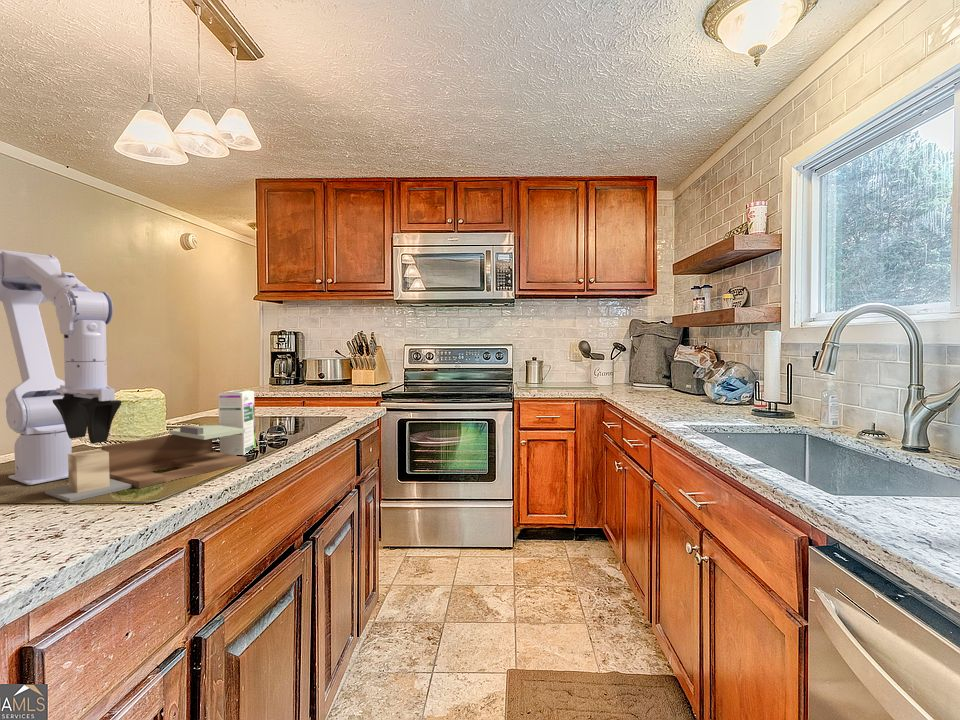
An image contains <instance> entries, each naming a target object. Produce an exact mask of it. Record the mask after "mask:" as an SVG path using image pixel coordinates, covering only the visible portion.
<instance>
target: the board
mask: <svg viewBox="0 0 960 720" xmlns="http://www.w3.org/2000/svg"><path fill="white" fill-rule="evenodd" d="M100 447H101V448H100V449H101V450H104V451H107V452H109V479H113V480H117V481H121V482H124V483H128V484H132V487H133V488H137V489H142V488H146V487H151V486H156V485H159V483H160V484H164V483H168V482H172V481H171V480H173V481H176V480H175V479H177V480H180V479H179V478H181V479H184V477H185V478H189V477H192V476H193V477H194V476H198V475H202V474H206V473H210V472H213V471H218V470H223V469H227V468H230V467H231V468H232V467H236V466H240V465H244V464H247V457H246V456H236V455H230V454H225V453H220V451H219V452H218V451H213V438H212V439H206V440H202V439H196V438H190V437H184V436H178V435H172V434H169V435H165V436H164V435H163V436H157V437H150V438H145V439H138V440H132V441H126V442H120V443H119V442H118V443H112V444H107V445H102V446H100ZM177 467H178V468H177ZM168 468H169V469H173V468H177V469H174V470H170V471H165V472H160V473H156V472H159V471H163V469H164V470H169V469H168ZM181 468H182V469H181ZM158 470H159V471H158ZM153 471H155V472H153ZM163 482H164V483H163ZM155 484H156V485H155Z"/></svg>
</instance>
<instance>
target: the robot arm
mask: <svg viewBox="0 0 960 720" xmlns="http://www.w3.org/2000/svg"><path fill="white" fill-rule="evenodd" d="M61 266H62V265H61V263H60V261H59V259H58V258H57V257H56V256H55V255H53V254H38V253H32V252H24V251H15V250H7V249H2V248H1V249H0V302H1V303H2V306H3V309H4V311H5V315H6V318H7V322H8V327H9V331H10V335H11V340H12V344H13V348H14V353H15V355H16V356H15V357H16V361H17V365H18V369H19V373H20V378H21V382H20V383H19V384H17V385H16V386H15V387H13V388H12V389H11V390H10V391H9V392H8V393H7V396H6V398H5V405H6V409H5V410H6V411H5V417H6V423H7V426H8V427H9V428H10V429H11V430H12V431H13V432H15V433H16V434H19V436H18V437H17V438H16V440H15V442H14V448H13V449H14V473H15V474H11V475H8V479H10V480H13V481H17V482H19V483H22V484H25V485H27V486H33V485H38V484H44V483H47V482H49V483H50V482H54V481H59V480H62V479H69V476H68V453H73V450H72V447H73V445H72V440H73V439H78V438H85V437H86V434H88V439H89V442H90V443H91V444H98V443H99V444H100V443H104V442H105V443H106V442H107V441H108V438H109V434H110V431H111V427H112V423H113V420H114V418H115V416H116V414H117V412H118V410H119V408H120V407H121V406H122V401H121V400H118V399H116V393H115V392H116V390H115V388H112V387H110V386H109V385H108V356H107V355H108V354H107V352H108V351H107V350H108V349H107V348H108V347H107V325H109V324H110V323H111V321H112V319H113V316H114V303H113V299H112V298H111V296H110V295H109V294H108V293H107V292H106V291H93V290H92V289H90V288H89V287H88V286H87V285H86V284H85V283H83V282H82V281H81V280H79V279H78V278H77V277H76V275H75V273H74V272H68V271H62V268H61ZM45 302H49V303H51V304H52V305H53V306H54V308H55V313H56V317H57V321H58V324H59V325H58V326H59V332H60V334H61V335H63V358H64V359H63V360H64V361H63V362H64V380H62V379H61V378H59V377H57V375H56V371H55V367H54V363H53V359H52V355H51V352H50V349H49V343H48V339H47V336H46V330H45V328H44V324H43V321H42V316H41V315H42V314H41V312H40V305H41V304H44V303H45Z"/></svg>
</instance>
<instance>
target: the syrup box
mask: <svg viewBox="0 0 960 720" xmlns="http://www.w3.org/2000/svg"><path fill="white" fill-rule="evenodd" d="M217 398H218V399H217V400H218V401H217V402H218V403H217V404H218V405H217V406H218V425H221V426H228V427H235V428H242V429H245V433H240V434H234V435H229V436H223V437H219V453H225V454H230V455H245V454H246V453H248V452H249V451H250V450H252V449H253V448H256V449H257V442H256V439H257V438H256V437H257V436H256V417H255V416H256V415H255V414H256V411H255V409H256V408H255V407H256V405H255V391H254V390H250V389H249V390H248V389H235V390H230V391H224V392H219V393H217ZM248 454H249V453H248ZM246 455H247V454H246ZM246 455H245V456H246Z"/></svg>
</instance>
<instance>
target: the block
mask: <svg viewBox="0 0 960 720" xmlns="http://www.w3.org/2000/svg"><path fill="white" fill-rule="evenodd" d="M68 476H69V478H68V485H69V488H70V489H72V490H73V491H75V492H77V493H79V492H84V491H89V490H94V489H99V488H104V487H109V486H110V479H109V452H107V451H104V450H101V448H98V449H90V450H82V451H76V452H75V451H74V452H72V453H68Z"/></svg>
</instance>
